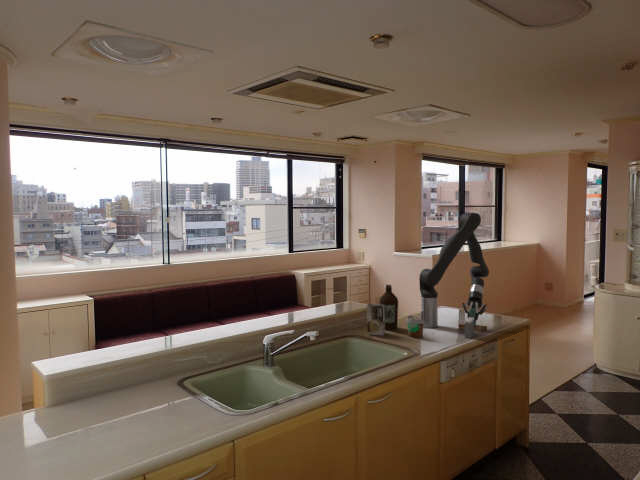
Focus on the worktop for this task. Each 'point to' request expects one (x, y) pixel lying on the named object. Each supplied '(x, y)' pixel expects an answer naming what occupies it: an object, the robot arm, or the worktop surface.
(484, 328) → the beam
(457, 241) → the robot arm
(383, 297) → the olive oil
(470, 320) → the block
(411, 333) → the food container
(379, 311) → the coffee box
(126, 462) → the worktop surface
